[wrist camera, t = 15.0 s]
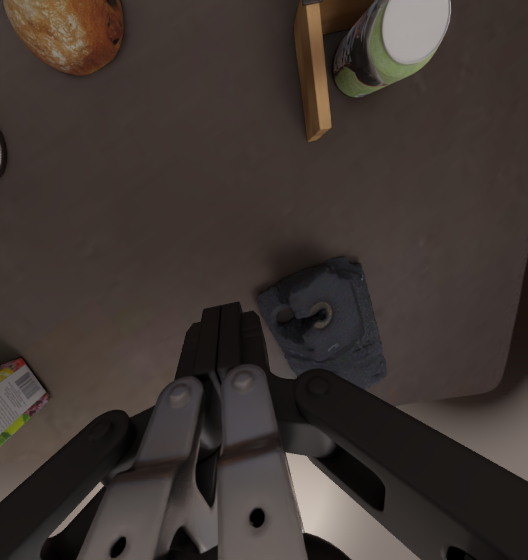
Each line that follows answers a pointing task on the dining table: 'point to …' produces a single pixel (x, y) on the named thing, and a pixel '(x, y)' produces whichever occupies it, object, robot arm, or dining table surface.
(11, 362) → the snack box
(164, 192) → the dining table surface
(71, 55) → the bread roll
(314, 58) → the shelf corner
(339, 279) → the grommeted fabric pouch
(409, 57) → the beverage can
